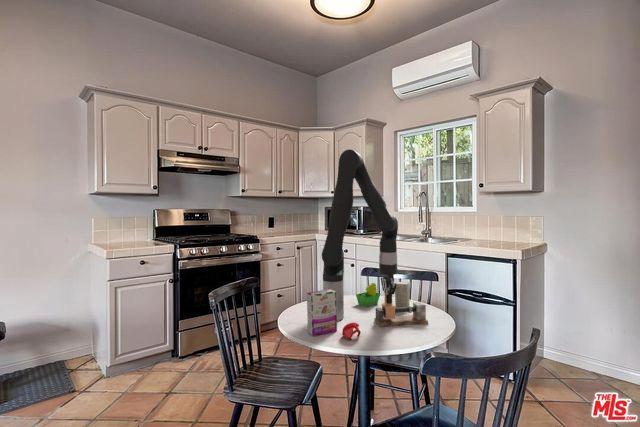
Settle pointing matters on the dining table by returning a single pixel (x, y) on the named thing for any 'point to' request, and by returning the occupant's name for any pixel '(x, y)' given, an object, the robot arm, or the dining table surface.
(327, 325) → the candy bar box
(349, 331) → the red toy helmet
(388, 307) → the sleeve
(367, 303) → the fruit basket
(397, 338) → the dining table surface
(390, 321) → the rail
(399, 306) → the skincare box
